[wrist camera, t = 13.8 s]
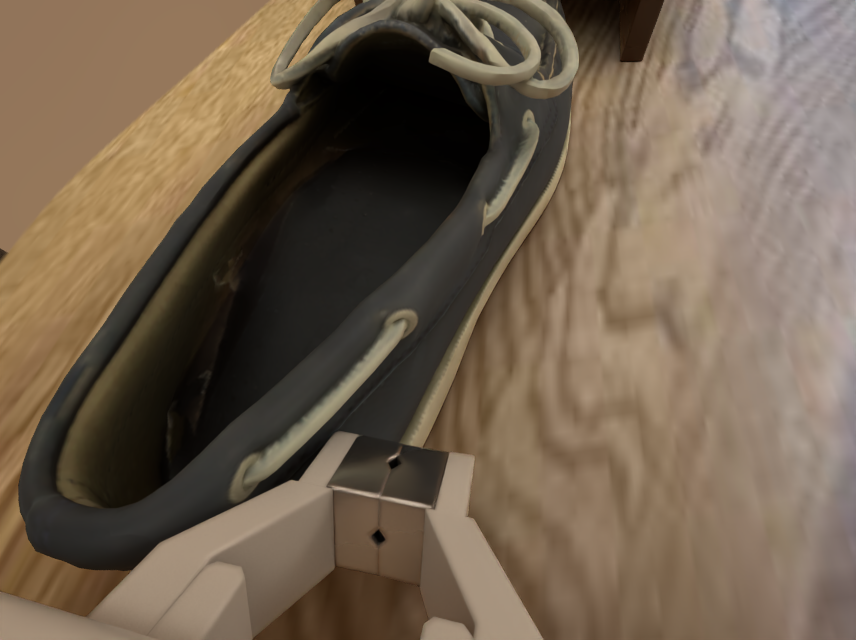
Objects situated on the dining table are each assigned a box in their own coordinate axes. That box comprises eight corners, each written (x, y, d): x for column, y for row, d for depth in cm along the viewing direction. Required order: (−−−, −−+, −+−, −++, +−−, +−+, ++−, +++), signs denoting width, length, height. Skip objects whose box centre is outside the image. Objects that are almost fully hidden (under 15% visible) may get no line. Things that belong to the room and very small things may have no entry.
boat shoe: (446, 22, 23) (433, -206, 16) (623, 54, 20) (706, -203, 13) (118, 457, 14) (-266, 397, 7) (356, 620, 11) (145, 812, 4)
